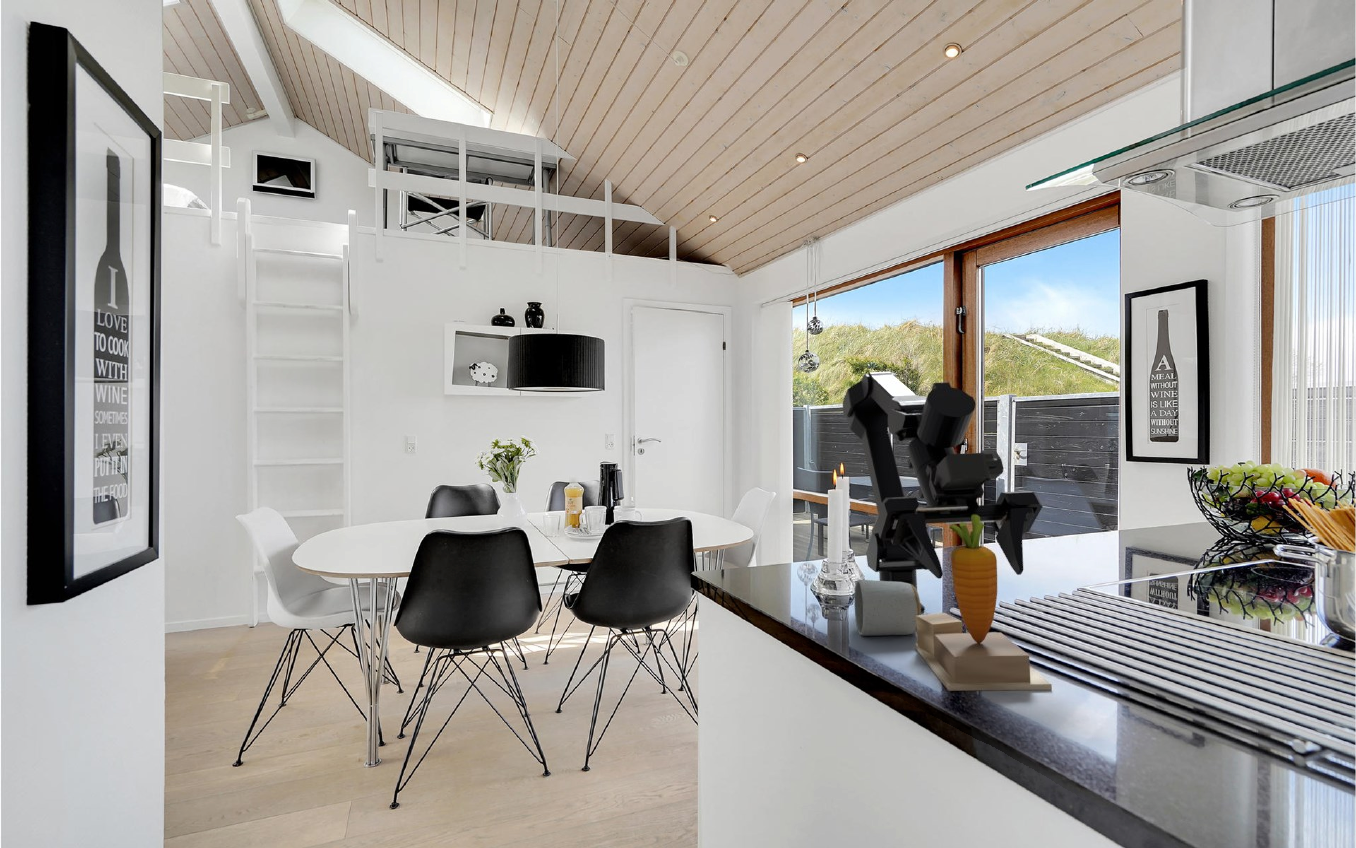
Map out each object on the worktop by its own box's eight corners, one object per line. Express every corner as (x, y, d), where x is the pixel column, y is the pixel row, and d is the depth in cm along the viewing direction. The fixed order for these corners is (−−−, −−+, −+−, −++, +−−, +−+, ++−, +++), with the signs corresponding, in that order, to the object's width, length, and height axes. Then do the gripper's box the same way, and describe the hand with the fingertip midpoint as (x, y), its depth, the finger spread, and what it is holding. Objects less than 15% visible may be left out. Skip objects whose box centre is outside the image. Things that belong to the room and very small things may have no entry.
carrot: (974, 653, 75) (966, 520, 75) (946, 639, 80) (939, 515, 80) (1011, 647, 76) (1003, 516, 76) (982, 634, 81) (974, 511, 81)
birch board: (915, 648, 88) (914, 643, 88) (1001, 646, 87) (1001, 642, 87) (948, 690, 74) (948, 685, 74) (1051, 689, 73) (1051, 684, 73)
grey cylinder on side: (925, 641, 90) (922, 584, 90) (864, 642, 91) (861, 586, 91) (904, 619, 101) (901, 569, 101) (849, 621, 101) (847, 570, 101)
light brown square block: (934, 658, 82) (933, 633, 82) (1002, 657, 81) (1000, 632, 81) (955, 683, 74) (954, 656, 74) (1030, 682, 73) (1029, 655, 73)
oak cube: (917, 646, 87) (916, 615, 87) (945, 643, 87) (944, 612, 87) (934, 656, 83) (932, 624, 83) (963, 653, 83) (962, 621, 83)
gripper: (878, 433, 82) (914, 537, 71) (1030, 425, 82) (1089, 529, 71) (864, 490, 90) (894, 592, 79) (1002, 483, 90) (1052, 585, 78)
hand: (980, 574), depth 76 cm, fingers open, 9 cm apart
